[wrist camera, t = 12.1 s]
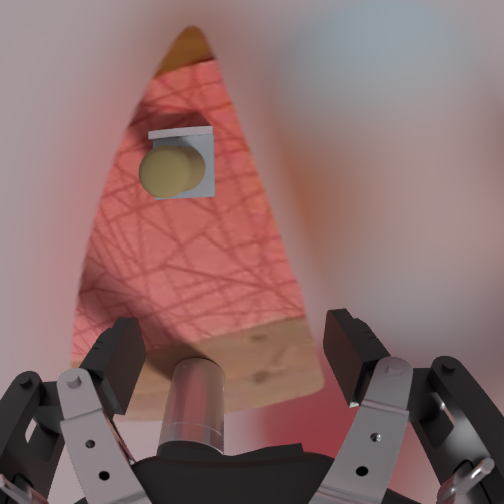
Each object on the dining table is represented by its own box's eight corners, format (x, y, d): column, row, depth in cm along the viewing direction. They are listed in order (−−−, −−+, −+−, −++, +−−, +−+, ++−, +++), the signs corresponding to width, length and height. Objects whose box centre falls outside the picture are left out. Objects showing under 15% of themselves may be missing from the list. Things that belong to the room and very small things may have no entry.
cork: (188, 200, 35) (170, 217, 24) (151, 176, 33) (119, 183, 23) (214, 161, 33) (206, 161, 23) (176, 137, 32) (152, 127, 21)
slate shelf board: (215, 195, 35) (214, 196, 35) (156, 199, 35) (155, 199, 34) (213, 135, 33) (213, 135, 32) (154, 140, 32) (152, 140, 32)
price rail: (213, 135, 33) (212, 133, 30) (154, 140, 32) (148, 139, 30) (213, 128, 32) (212, 125, 30) (153, 133, 32) (148, 131, 30)
